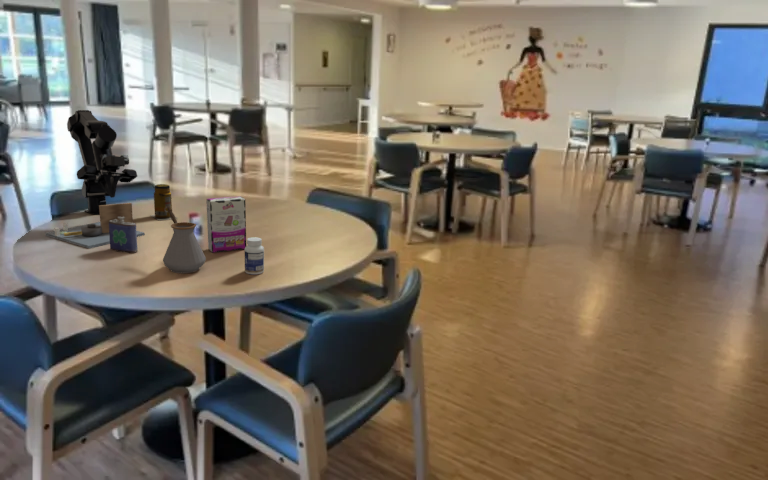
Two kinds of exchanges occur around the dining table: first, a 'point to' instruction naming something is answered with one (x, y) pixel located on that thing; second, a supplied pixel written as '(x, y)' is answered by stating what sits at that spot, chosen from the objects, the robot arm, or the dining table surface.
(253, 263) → the pill bottle
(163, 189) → the condiment
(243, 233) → the candy bar box
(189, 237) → the coffee pot
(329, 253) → the dining table surface
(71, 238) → the stand
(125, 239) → the flask
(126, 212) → the brown piece
